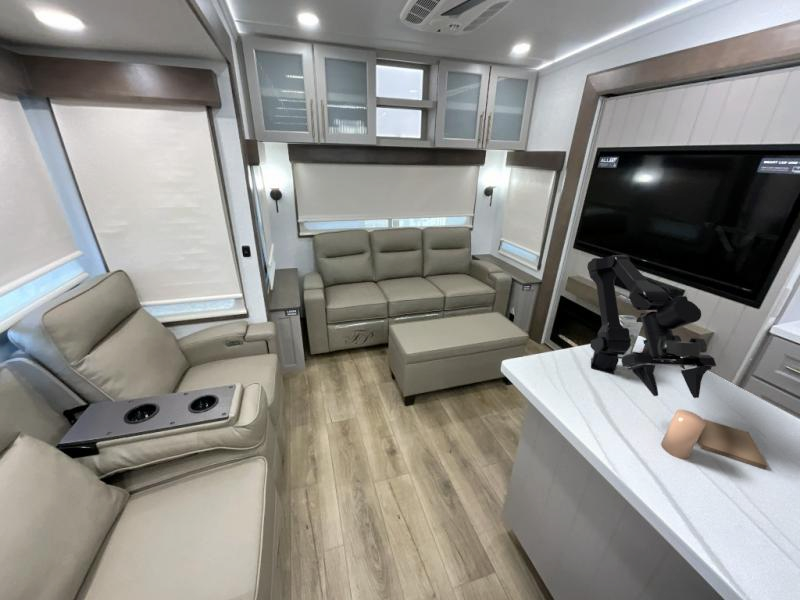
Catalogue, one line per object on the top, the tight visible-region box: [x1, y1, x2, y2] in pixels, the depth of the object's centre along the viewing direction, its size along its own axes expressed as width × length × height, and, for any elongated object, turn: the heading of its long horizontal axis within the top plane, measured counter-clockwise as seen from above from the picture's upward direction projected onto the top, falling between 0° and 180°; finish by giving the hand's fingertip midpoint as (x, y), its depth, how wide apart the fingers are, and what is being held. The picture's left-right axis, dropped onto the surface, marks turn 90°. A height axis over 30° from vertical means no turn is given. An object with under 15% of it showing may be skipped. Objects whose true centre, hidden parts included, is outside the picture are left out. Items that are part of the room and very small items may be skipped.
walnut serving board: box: [697, 418, 768, 470], centre depth 76 cm, size 11×11×1 cm
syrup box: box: [618, 314, 643, 358], centre depth 109 cm, size 6×6×14 cm
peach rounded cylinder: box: [660, 409, 706, 460], centre depth 72 cm, size 5×5×10 cm
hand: (676, 396), depth 74 cm, fingers open, 9 cm apart
